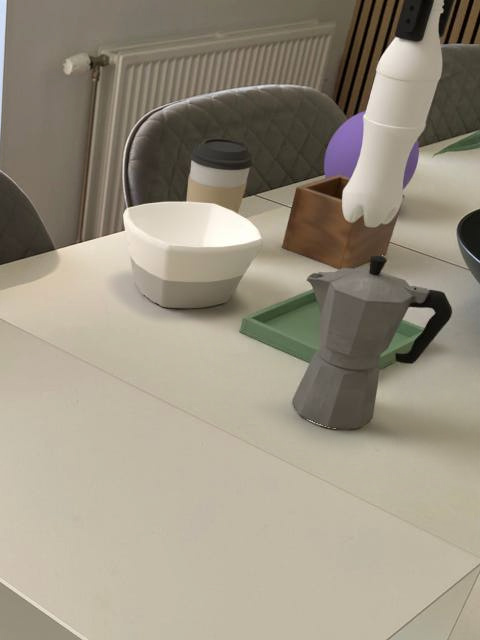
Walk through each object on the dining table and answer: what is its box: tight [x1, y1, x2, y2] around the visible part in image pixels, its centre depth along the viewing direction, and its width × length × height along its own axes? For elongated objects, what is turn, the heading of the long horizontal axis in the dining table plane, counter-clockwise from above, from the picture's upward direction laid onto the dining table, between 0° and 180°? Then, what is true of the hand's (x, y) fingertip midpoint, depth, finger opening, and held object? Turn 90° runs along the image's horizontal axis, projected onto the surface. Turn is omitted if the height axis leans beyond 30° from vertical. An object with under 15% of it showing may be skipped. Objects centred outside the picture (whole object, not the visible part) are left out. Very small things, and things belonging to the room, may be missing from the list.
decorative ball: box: [323, 110, 420, 190], centre depth 168 cm, size 15×15×15 cm
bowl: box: [122, 201, 263, 309], centre depth 136 cm, size 18×18×9 cm
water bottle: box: [342, 0, 444, 227], centre depth 116 cm, size 7×7×25 cm
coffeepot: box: [291, 256, 453, 431], centre depth 109 cm, size 15×9×18 cm, turn 69°
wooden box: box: [281, 174, 405, 270], centre depth 152 cm, size 12×12×9 cm
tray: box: [239, 288, 425, 370], centre depth 130 cm, size 18×18×2 cm
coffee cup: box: [185, 137, 253, 214], centre depth 148 cm, size 9×9×15 cm
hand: (419, 35), depth 111 cm, fingers closed on water bottle, 3 cm apart
